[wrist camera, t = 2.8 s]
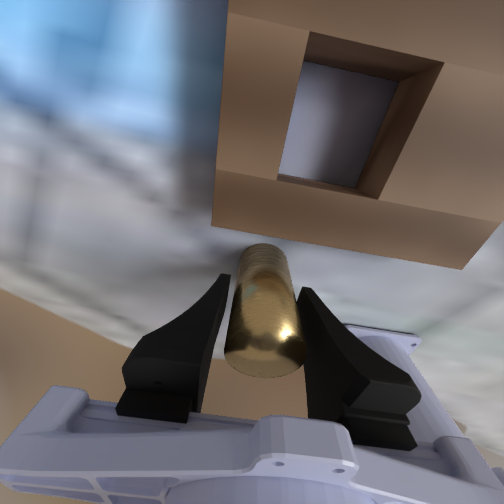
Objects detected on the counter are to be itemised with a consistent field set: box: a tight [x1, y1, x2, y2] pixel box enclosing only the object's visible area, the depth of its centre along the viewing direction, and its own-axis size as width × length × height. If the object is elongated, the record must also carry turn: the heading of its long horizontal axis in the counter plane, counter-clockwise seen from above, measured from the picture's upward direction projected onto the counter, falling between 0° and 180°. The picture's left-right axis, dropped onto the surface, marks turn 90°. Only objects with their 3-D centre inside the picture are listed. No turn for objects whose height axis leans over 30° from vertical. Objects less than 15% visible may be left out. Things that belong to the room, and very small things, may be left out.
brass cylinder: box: [224, 244, 307, 378], centre depth 13 cm, size 4×4×8 cm
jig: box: [211, 0, 504, 270], centre depth 11 cm, size 12×16×3 cm
